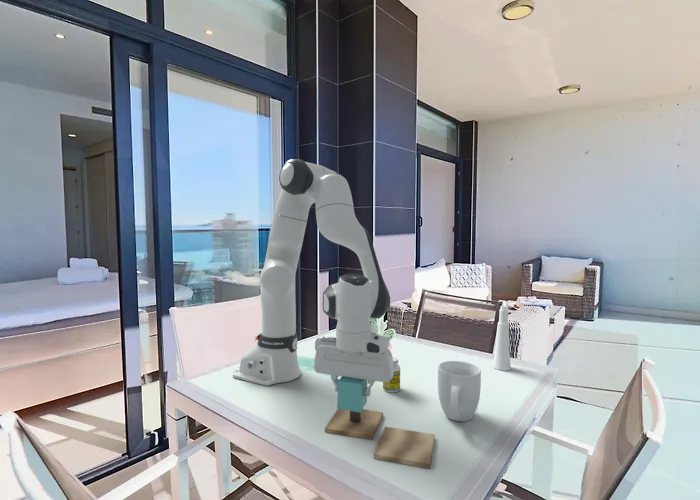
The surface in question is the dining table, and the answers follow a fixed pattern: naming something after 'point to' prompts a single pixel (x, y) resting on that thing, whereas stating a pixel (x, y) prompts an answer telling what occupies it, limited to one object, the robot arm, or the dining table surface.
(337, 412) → the post stand
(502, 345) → the cosmetic bottle
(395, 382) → the supplement bottle
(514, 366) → the dining table surface
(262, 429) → the dining table surface
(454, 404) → the mug
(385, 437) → the oak pad
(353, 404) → the teal rectangular block
